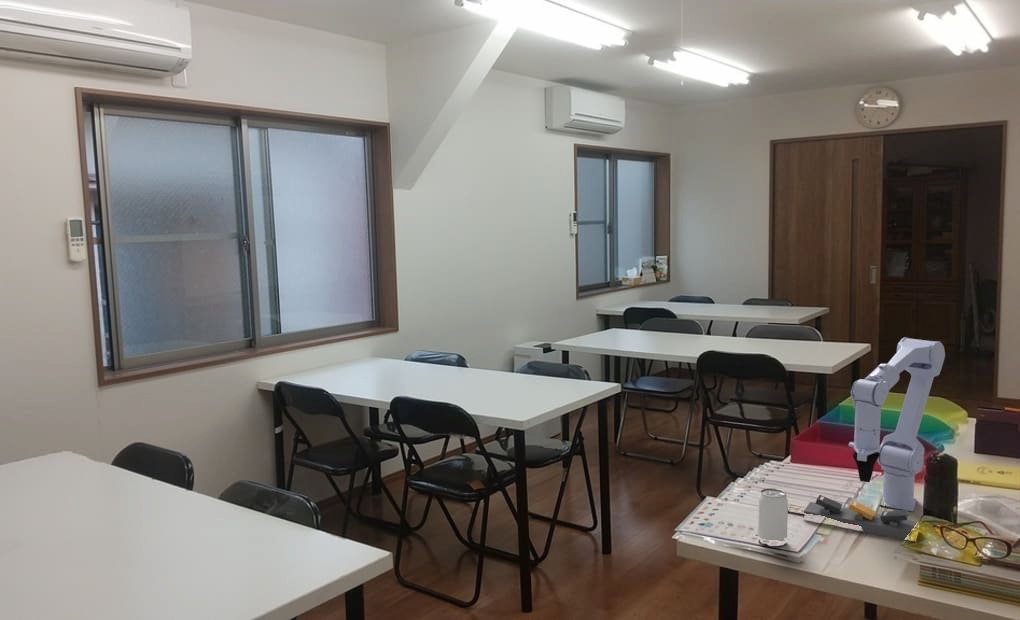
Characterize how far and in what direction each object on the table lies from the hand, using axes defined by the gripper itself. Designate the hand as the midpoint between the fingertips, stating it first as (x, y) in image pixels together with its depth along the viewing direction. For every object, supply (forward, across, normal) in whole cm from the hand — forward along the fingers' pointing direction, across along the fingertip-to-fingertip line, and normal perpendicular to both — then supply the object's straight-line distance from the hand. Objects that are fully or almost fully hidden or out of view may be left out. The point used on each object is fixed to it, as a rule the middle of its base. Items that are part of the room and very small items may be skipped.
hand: (865, 481), depth 186 cm
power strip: (+10, +5, -2) cm, 11 cm away
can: (+10, +25, -16) cm, 31 cm away
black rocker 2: (+6, +5, +8) cm, 11 cm away
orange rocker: (+6, +5, 0) cm, 8 cm away
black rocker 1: (+6, +5, -8) cm, 11 cm away
